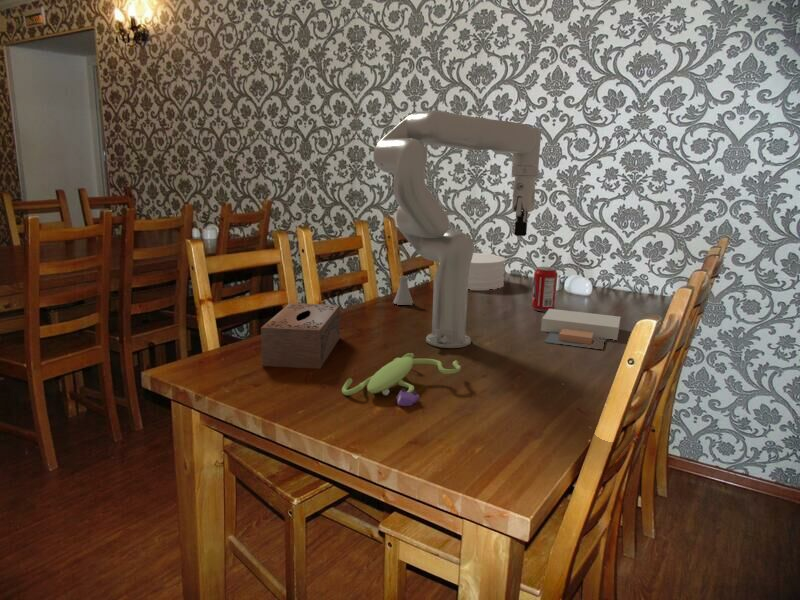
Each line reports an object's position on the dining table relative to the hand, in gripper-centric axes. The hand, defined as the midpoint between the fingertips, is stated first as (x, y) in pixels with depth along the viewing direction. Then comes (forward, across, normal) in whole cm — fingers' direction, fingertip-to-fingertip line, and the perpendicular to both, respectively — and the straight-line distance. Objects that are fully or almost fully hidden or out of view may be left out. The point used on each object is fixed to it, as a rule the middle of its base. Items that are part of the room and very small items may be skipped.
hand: (520, 235), depth 170 cm
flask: (+29, +14, +43) cm, 54 cm away
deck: (+29, +9, -19) cm, 36 cm away
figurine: (+30, -58, +13) cm, 66 cm away
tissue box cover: (+30, -47, +46) cm, 72 cm away
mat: (+29, -4, -19) cm, 35 cm away
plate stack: (+30, +63, +32) cm, 77 cm away
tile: (+27, -4, -19) cm, 33 cm away
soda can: (+29, +30, -4) cm, 42 cm away
